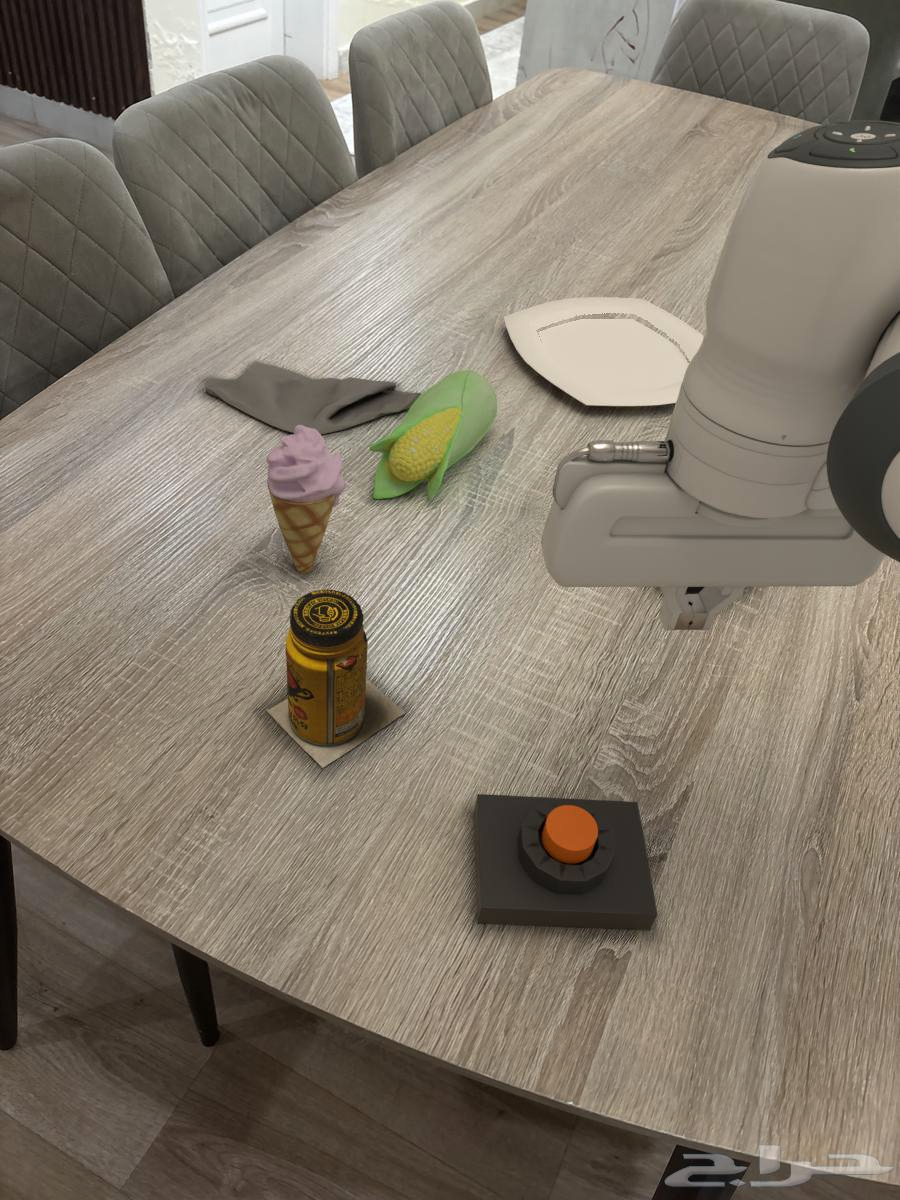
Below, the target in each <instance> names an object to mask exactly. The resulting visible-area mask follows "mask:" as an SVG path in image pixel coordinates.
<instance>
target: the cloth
mask: <svg viewBox="0 0 900 1200" xmlns="http://www.w3.org/2000/svg"><path fill="white" fill-rule="evenodd" d="M397 384H398V382H396V381H387V380H385V381H384V380H371V379H364V378H358V377H352V376H348V377H346V378H343V379H340V378H335V377H324V378H323V377H322V378H310V377H308V376H306V375H303V374H300V373H298V372H295V371H292V370H289V369H285V368H282V367H278V366H275V365H271V364H267V363H262V362H258V361H255V362H253V363H252V365H251V366H250V367H249V368H248V370H247V371H246V372H245V374H241V375H240V376H238V377H236V378H234V379H226V378H213V377H211V378H209V379H208V380H207V384H206V386H204V390H206V392H207V394H209V395H212V396H214V397H216V398H218V399H220V400H222V401H223V402H225V403H227V404H229V406H230V405H231V406H232V407H235V408H236V409H238V410H239V411H241V412H243V413H245V414H247V415H249V416H251V417H253V418H255V419H257V420H259V421H262V422H264V423H266V424H267V425H270V426H272V427H276V428H278V429H280V430H282V431H286V432H290V433H293V434H294V428H295V427H296V426H297V425H303V426H305V427H308V428H313V429H316V430H317V431H318V432H319V433H320V435H324V434H329V433H334V432H339V431H343V430H346V429H348V428H349V429H350V428H352V427H356V426H358V425H361V424H365V423H367V422H370V421H372V420H375V419H378V418H380V417H384V416H387V415H391V414H395V413H398V412H402V411H405V410H407V409H408V410H409V409H410V407H411V406H412V405H413V403H414V402H415V401H416V400H417V399H418V398H419V396H420V395H421V394H422V393H420V392H408V391H401V390H394V389H396V387H397Z"/></svg>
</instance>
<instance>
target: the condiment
mask: <svg viewBox="0 0 900 1200" xmlns="http://www.w3.org/2000/svg"><path fill="white" fill-rule="evenodd" d="M363 623H364V613H363V610H362V607H361V605H360V603H358V601H357V600H356V599H354V597H353V596H351V595H349V594H347V593H346V592H345V591H339V590H335V589H319V590H313V591H310V592H308V593H306V594H304V595H303V596H300V597H299V598H298V599H297V600H296V602H295V603H294V604H293V606H292V607H291V609H290V615H289V630H288V633H287V635H286V639H285V648H284V649H285V658H286V659H285V661H286V663H285V664H286V691H287V692H286V695H287V696H286V697H287V698H286V699H284V700H282V701H281V702H279V703H278V704H276V705H275V706H272V707H271V708H269V709H266V712H267V713H268V715H270V716H271V717H272V719H274V721H275V722H276V723H278V725H279V726H280V728H282V729H283V730H284V732H286V733H287V735H289V736H290V737H291V739H292V740H294V741H295V743H297V745H298V746H300V747H301V748H302V749H303V750H304V751H305V752H306V753H307V754H308V755H309V756H310V757H311V758H312V759H313V760H314V761H315V762H316V763H317V764H318V765H319V766H320V767H321V769H325V767H327V766H328V765H330V764H331V763H333V762H334V761H336V760H338V759H339V758H341V757H342V756H344V755H345V754H346V753H349V752H350V751H352V750H353V749H355V748H356V747H357V746H359V745H361V744H362V743H363V742H365V741H366V740H368V739H369V738H370V737H371V736H373V735H374V734H376V733H378V732H379V731H381V730H382V729H384V728H386V727H387V726H388V725H390V724H391V723H393V722H394V721H395V720H396V719H398V718H399V717H401V716H403V715H404V714H406V711H405V710H403V709H402V708H401V707H400V706H398V705H397V704H396V703H395V702H394V701H392V700H391V699H390V698H389V697H388V696H387V695H386V694H385V693H383V692H382V691H381V690H380V689H379V688H378V687H377V686H376V685H375V684H374V683H372V682H371V681H370V680H369V679H368V678H367V668H368V647H369V646H368V644H369V643H368V637H367V634H366V632H365V629H364V624H363Z"/></svg>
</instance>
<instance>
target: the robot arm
mask: <svg viewBox="0 0 900 1200" xmlns="http://www.w3.org/2000/svg"><path fill="white" fill-rule="evenodd" d="M704 312H705V313H704V314H705V315H704V316H705V317H704V318H705V320H704V321H705V325H704V326H705V327H704V334H703V336H704V337H703V341H702V343H701V346H700V348H699V349H698V351H697V353H696V354H695V356H694V357H693V358H692V360H691V361H690V363H689V365H688V367H687V369H686V372H685V374H684V378H683V383H682V384H681V388H680V391H679V395H678V398H677V401H676V404H674V408H673V412H672V416H671V419H670V422H669V426H668V429H667V432H666V436H665V440H636V441H635V440H634V441H626V442H625V441H621V442H620V441H614V440H610V439H598V440H592V441H589V442H588V443H587V445H586V447H581V448H577V449H575V450H573V451H571V452H570V453H568V454H567V455H564V456H563V457H562V458H561V459H560V460H559V462H558V464H557V467H556V471H555V476H554V480H553V485H552V497H553V501H552V503H551V506H550V508H549V511H548V513H547V517H546V519H545V523H544V527H543V530H542V535H541V540H540V543H541V552H542V556H543V561H544V564H545V568H546V571H547V573H548V574H549V575H550V577H551V579H552V580H553V581H554V582H555V583H556V584H557V585H558V586H560V587H562V588H563V587H564V588H659V589H660V592H661V594H662V596H663V599H662V602H661V604H660V607H659V619H660V622H661V624H662V628H663V630H664V631H709V630H710V629H711V627H712V625H713V623H714V621H715V618H716V616H717V614H719V613H720V612H722V611H723V610H724V609H726V608H727V607H728V606H730V605H731V604H732V603H734V602H735V601H737V600H738V599H739V598H741V597H742V596H743V594H744V591H745V589H746V588H747V587H748V588H749V587H750V588H751V587H753V588H755V587H756V588H758V587H759V588H761V587H762V588H763V587H765V588H766V587H778V588H779V587H782V588H783V587H789V588H790V587H847V588H849V587H856V586H858V585H859V584H861V583H863V582H864V581H866V580H868V579H870V578H871V577H872V576H874V575H875V574H876V573H877V571H879V569H880V567H881V565H882V563H883V561H884V559H885V558H886V556H887V557H889V558H890V559H892V560H894V561H896V562H898V563H900V122H898V121H897V122H895V121H887V120H865V119H864V120H844V121H835V122H833V123H828V124H822V125H821V124H820V125H814V126H812V127H809V128H807V129H804V130H802V131H800V132H797V133H796V134H794V135H792V136H789V138H787V139H785V140H784V141H783V142H782V143H781V144H779V145H777V146H776V147H775V148H774V149H772V150H771V151H770V152H769V153H768V154H767V155H766V156H765V157H764V158H763V160H761V162H760V163H759V165H758V166H757V168H756V169H755V171H754V173H753V175H752V176H751V178H750V181H749V182H748V184H747V186H746V189H745V191H744V192H743V195H742V197H741V200H740V201H739V205H738V207H737V209H736V211H735V214H734V216H733V219H732V221H731V224H730V227H729V230H728V232H727V235H726V238H725V240H724V244H723V246H722V249H721V252H720V255H719V258H718V261H717V264H716V267H715V271H714V274H713V276H712V280H711V283H710V287H709V290H708V293H707V297H706V300H705V309H704ZM688 587H705V588H704V589H703V590H702V591H700V592H699V594H685V593H686V590H687V588H688Z"/></svg>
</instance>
